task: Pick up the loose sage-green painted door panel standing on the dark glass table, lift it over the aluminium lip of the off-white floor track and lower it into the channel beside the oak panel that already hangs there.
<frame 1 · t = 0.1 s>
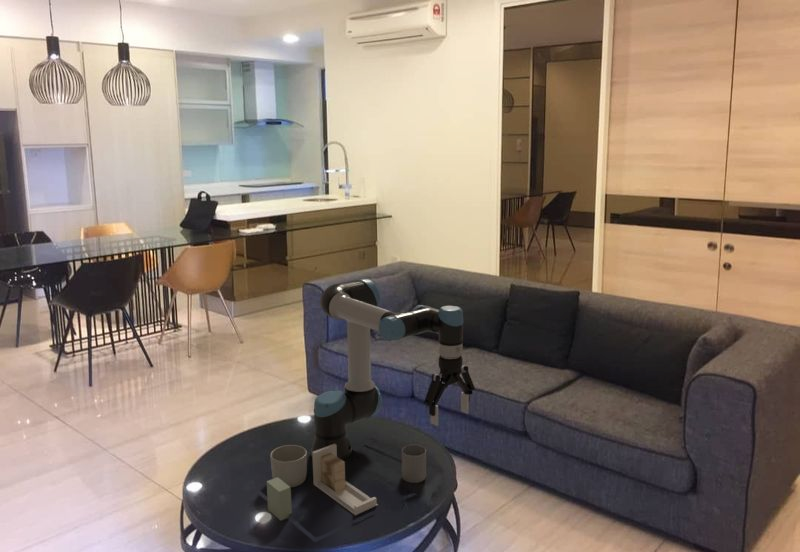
hand: (449, 418, 210), 28 cm above the table, fingers open, 13 cm apart
oak panel: (333, 486, 221), point 1 cm above the table, touching track
cup: (413, 477, 229), on the table
planter: (290, 482, 226), on the table
track: (344, 496, 217), on the table
green panel: (279, 512, 208), on the table
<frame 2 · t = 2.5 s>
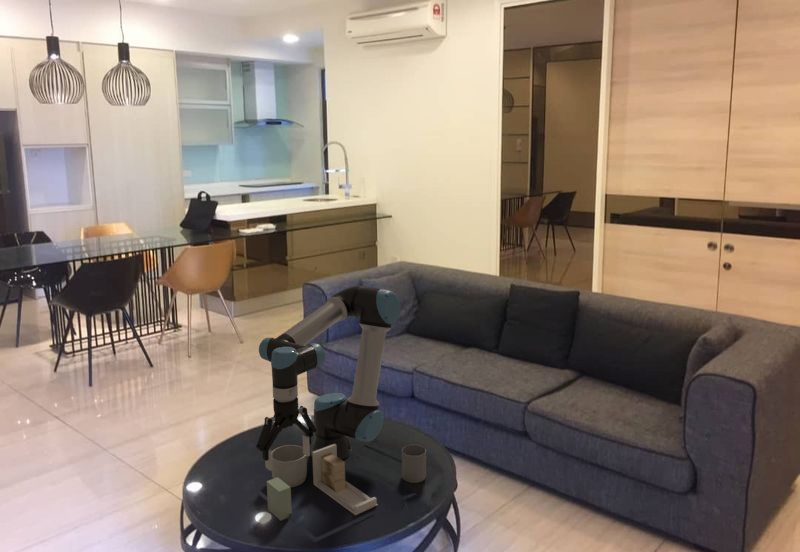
hand: (288, 461, 204), 18 cm above the table, fingers open, 13 cm apart
nothing on the table moved.
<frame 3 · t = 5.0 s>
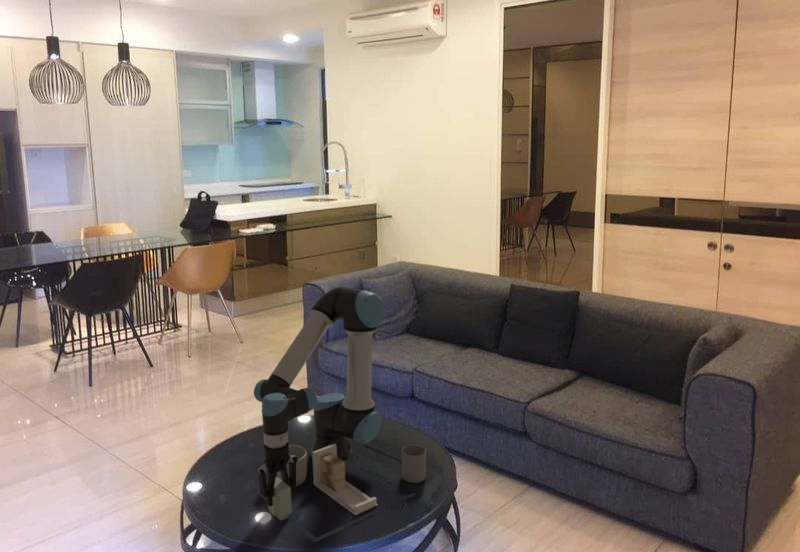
hand: (279, 510, 208), 1 cm above the table, fingers closed on green panel, 4 cm apart
green panel: (279, 512, 208), on the table, touching gripper
everything else where it was.
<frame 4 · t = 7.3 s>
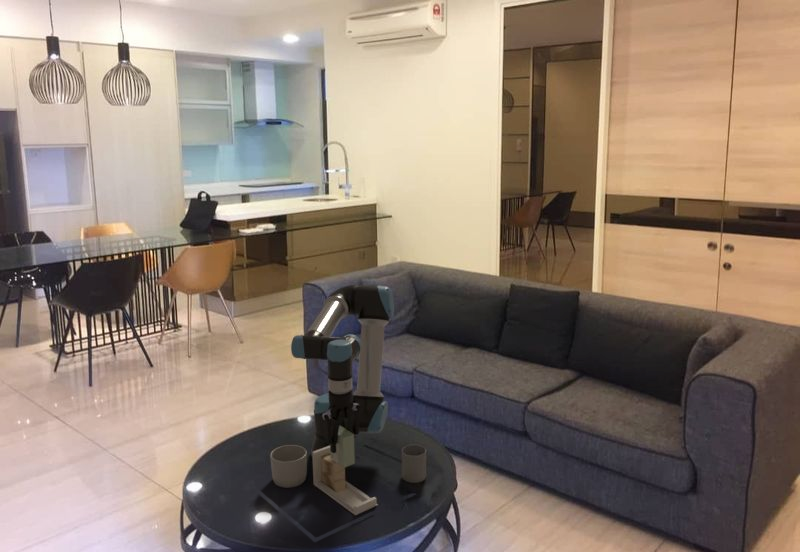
hand: (342, 458, 208), 17 cm above the table, fingers closed on green panel, 4 cm apart
green panel: (342, 460, 208), point 16 cm above the table, touching gripper
everything else where it was.
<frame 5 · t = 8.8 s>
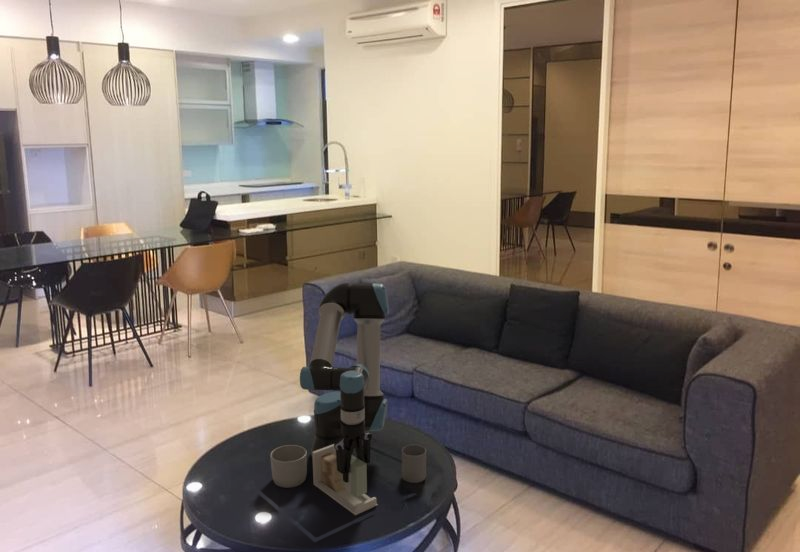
hand: (354, 487, 211), 6 cm above the table, fingers closed on green panel, 4 cm apart
green panel: (354, 489, 211), point 5 cm above the table, touching gripper
everything else where it was.
when the fingers open (3 cm above the table, at t = 9.6 s): green panel stays where it is, resting on track.
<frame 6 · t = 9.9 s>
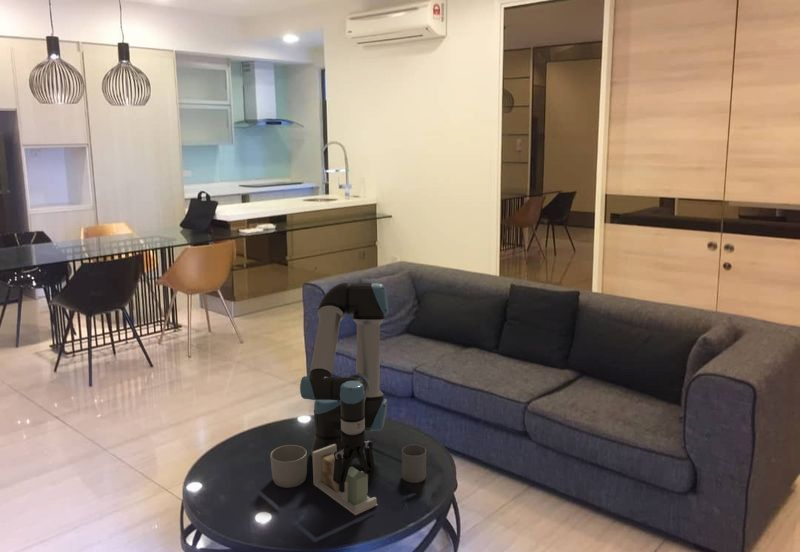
hand: (354, 495, 212), 3 cm above the table, fingers open, 7 cm apart
green panel: (354, 501, 212), point 1 cm above the table, touching track
everything else where it was.
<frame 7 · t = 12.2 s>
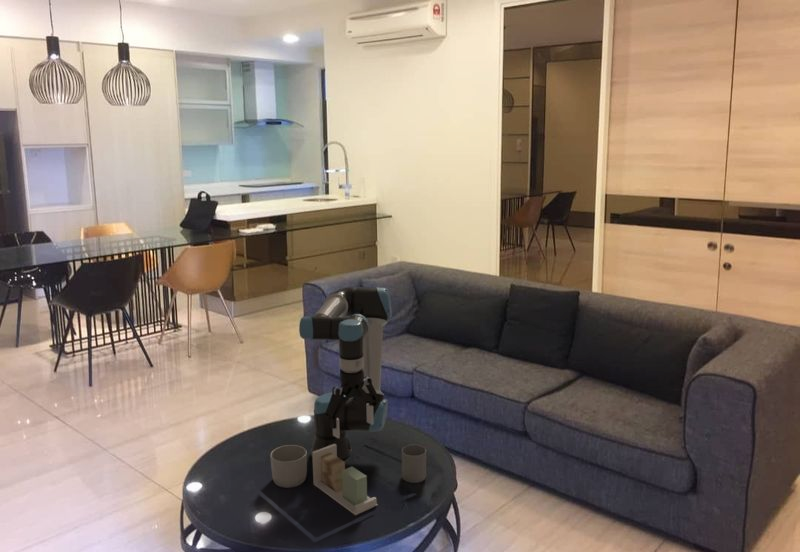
hand: (353, 429, 212), 24 cm above the table, fingers open, 13 cm apart
nothing on the table moved.
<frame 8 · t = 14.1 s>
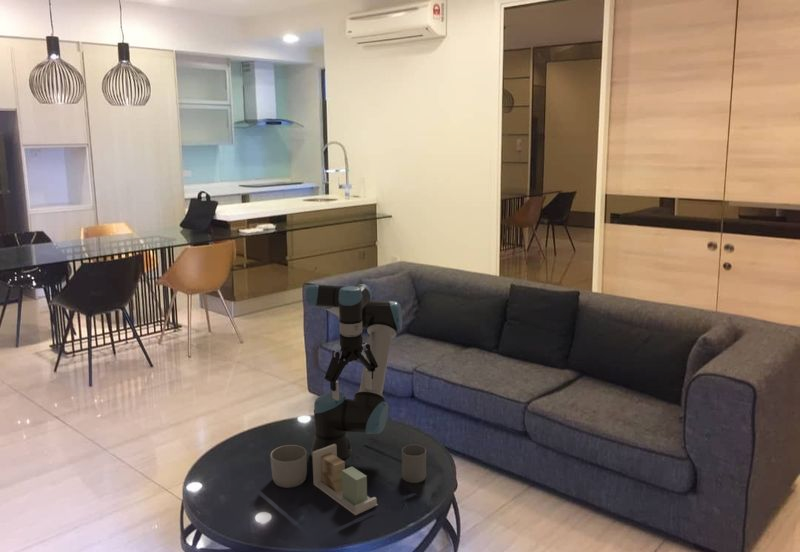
hand: (352, 393, 221), 32 cm above the table, fingers open, 13 cm apart
nothing on the table moved.
at the end: green panel 0.2 cm from the target spot on the track, point 1.0 cm above the track's base; green panel tilted 0°; oak panel moved 0.0 cm from its start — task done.
